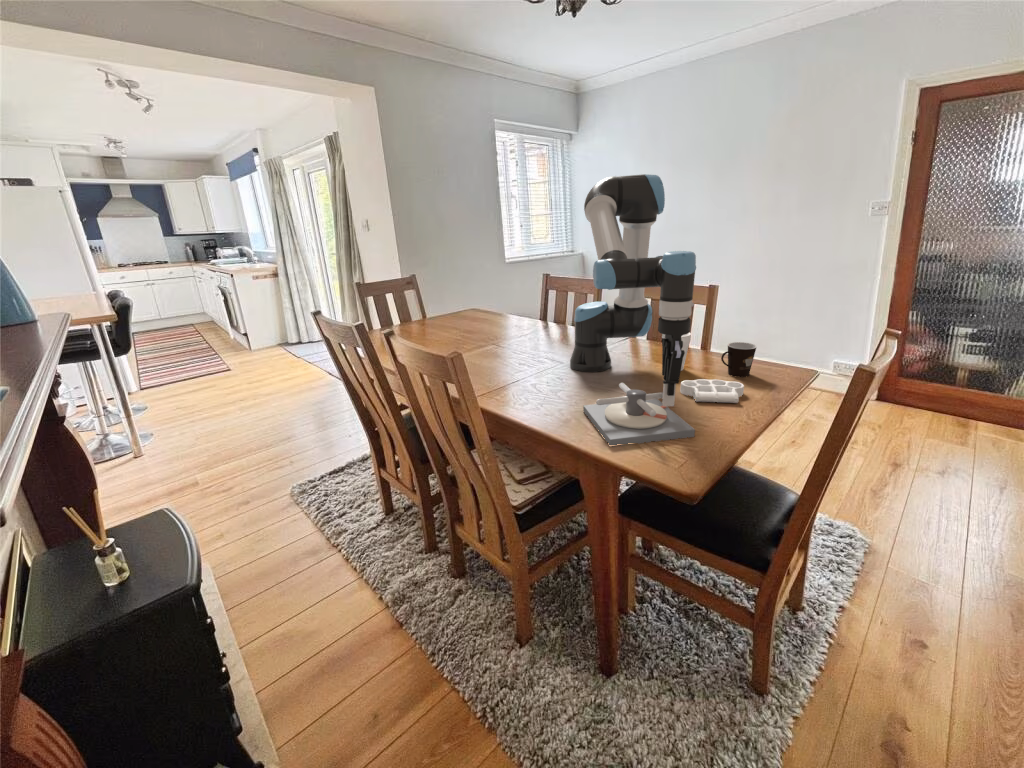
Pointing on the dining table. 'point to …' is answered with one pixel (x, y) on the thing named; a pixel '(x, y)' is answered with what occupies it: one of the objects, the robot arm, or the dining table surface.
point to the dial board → (623, 435)
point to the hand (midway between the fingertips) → (668, 405)
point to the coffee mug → (739, 358)
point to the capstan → (634, 409)
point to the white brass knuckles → (712, 390)
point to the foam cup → (684, 346)
